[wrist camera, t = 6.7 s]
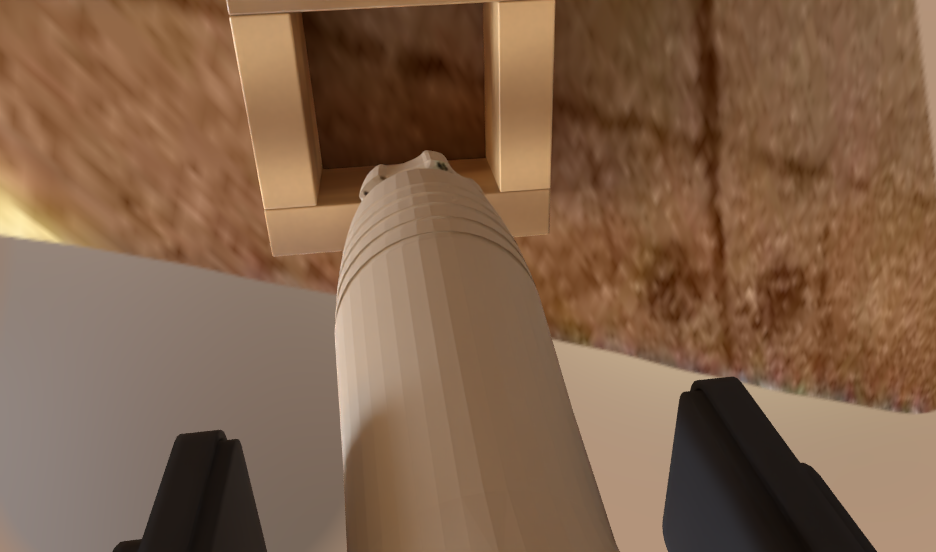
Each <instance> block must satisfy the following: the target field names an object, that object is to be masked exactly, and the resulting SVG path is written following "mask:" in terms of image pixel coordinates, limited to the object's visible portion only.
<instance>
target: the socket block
mask: <svg viewBox="0 0 936 552" xmlns="http://www.w3.org/2000/svg"><path fill="white" fill-rule="evenodd" d="M226 3H227V9H228V13H229V15H231V16H230V18H229V19H230V25H231V30H232V36H233V41H234V47H235V52H236V58H237V63H238V69H239V74H240V80H241V85H242V91H243V96H244V102H245V107H246V113H247V118H248V124H249V129H250V135H251V140H252V146H253V151H254V157H255V162H256V168H257V173H258V179H259V184H260V190H261V195H262V201H263V206H264V209H265V211H264V212H265V218H266V223H267V229H268V234H269V240H270V245H271V251H272V255H273V256H287V255H299V254H311V253H324V252H336V251H344V246H345V242H346V238H347V235H348V231H349V228H350V225H351V222H352V220H353V218H354V216H355V213H356V211H357V209H358V207H359V205H360V203H361V202H362V201H361V199H360V197H359V195H360V190H361V187H362V184H363V182H364V180H365V178H366V177H367V175H368V174H369V172H370V171H371V170H372V169H374V168H375V167H376V166H363V167H349V168H335V169H323V166H322V159H321V151H320V144H319V137H318V129H317V122H316V114H315V107H314V100H313V92H312V85H311V77H310V70H309V63H308V55H307V48H306V40H305V33H304V26H303V18H302V12H309V11H329V10H348V9H367V8H386V7H406V6H425V5H444V4H463V3H483V39H484V91H485V142H486V158H476V159H462V160H448V163H449V164H450V166H451V168H452V169H453V170H454V171H455V172H456V173H458V174H459V175H461V176H463V177H465V178H471V179H473V180H474V181H475V182H476V183H477V184H478V185H479V186H480V188H481V189H482V191H483V192H484V194H485V196H486V198H487V200H488V201H489V203H490V204H491V205H492V206H493V208H494V209H495V210H496V212H497V213H498V214H499V216H500V217H501V219H502V220H503V222H504V223H505V225H506V226H507V228H508V230H509V232H510V233H511V235H512V236H513V237H521V236H534V235H546V234H549V222H550V187H551V150H552V113H553V75H554V37H555V0H226ZM391 165H398V164H391ZM377 166H378V165H377ZM386 166H390V165H386Z"/></svg>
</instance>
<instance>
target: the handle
mask: <svg viewBox="0 0 936 552" xmlns="http://www.w3.org/2000/svg"><path fill="white" fill-rule="evenodd" d="M359 197H360V199H361V201H362V202H361V203H360V205H359V207H358V209H357V211H356V213H355V216H354V218H353V220H352V222H351V225H350V228H349V231H348V235H347V238H346V242H345V246H344V251H343V256H342V262H341V268H340V274H339V280H338V287H337V298H336V315H335V346H336V362H337V377H338V392H339V407H340V423H341V439H342V454H343V472H344V494H345V515H346V536H347V537H346V538H347V552H620V551H619V549H618V547H617V545H616V543H615V539H614V536H613V533H612V530H611V527H610V524H609V521H608V518H607V514H606V511H605V509H604V505H603V502H602V499H601V496H600V493H599V490H598V487H597V484H596V481H595V477H594V474H593V471H592V468H591V465H590V462H589V459H588V456H587V453H586V450H585V447H584V443H583V440H582V437H581V434H580V431H579V428H578V425H577V422H576V419H575V416H574V413H573V409H572V406H571V403H570V399H569V396H568V393H567V389H566V386H565V383H564V379H563V376H562V373H561V369H560V365H559V362H558V358H557V355H556V352H555V348H554V345H553V341H552V338H551V335H550V331H549V328H548V324H547V321H546V317H545V314H544V311H543V307H542V304H541V300H540V297H539V294H538V291H537V289H536V286H535V284H534V281H533V279H532V276H531V274H530V272H529V269H528V267H527V265H526V262H525V260H524V258H523V256H522V254H521V252H520V249H519V247H518V245H517V243H516V241H515V240H514V238H513V236H512V235H511V233H510V232H509V230H508V228H507V226H506V225H505V223H504V222H503V220H502V219H501V217H500V216H499V214H498V213H497V212H496V210H495V209H494V208H493V206H492V205H491V204H490V203H489V201H488V200H487V198H486V196H485V194H484V192H483V191H482V189H481V188H480V186H479V185H478V184H477V183H476V182H475V181H474V180H473V179H471V178H465V177H463V176H461V175H459V174H458V173H456V172H455V171H454V170H453V169H452V168H451V166H450V164H449V163H448V161H447V159H446V158H445V156H444V155H443V154H442V153H438V152H435V151H429V150H426V151H424V152H423V153H422V154H421V155H420V156H418V157H416V158H415V159H413V160H410V161H408V162H406V163H402V164H398V165H390V166H386V165H383V164H379V165H378V166H376V167H375V168H374V169H372V170H371V171H370V172H369V174H368V175H367V177H366V178H365V180H364V182H363V184H362V187H361V190H360V195H359Z"/></svg>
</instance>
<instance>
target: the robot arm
mask: <svg viewBox="0 0 936 552" xmlns="http://www.w3.org/2000/svg"><path fill="white" fill-rule="evenodd" d="M662 527H663V536H664V541H665V544H666V547H667V550H668V552H877V551H876V550H875V548H874V547H873V546H872V545H871V543H870V542H869V540H868V539H867V538H866V536H865V535H864V534H863V532H862V531H861V530H860V529H859V527H858V526H857V524H856V523H855V522H854V520H853V519H852V518H851V516H850V515H849V514H848V512H847V511H846V510H845V509H844V507H843V506H842V505H841V503H840V502H839V500H838V499H837V498H836V496H835V495H834V494H833V492H832V491H831V490H830V488H829V487H828V486H827V484H826V483H825V482H824V480H823V479H822V478H821V476H820V475H819V474H818V473H817V472H816V471H815V470H814V469H813V468H812V467H811V466H809V465H807V464H805V463H800V462H799V461H798V459H797V458H796V457H795V455H794V454H793V453H792V451H791V450H790V448H789V447H788V446H787V444H786V443H785V441H784V440H783V439H782V437H781V436H780V435H779V433H778V432H777V431H776V429H775V428H774V426H773V425H772V424H771V422H770V421H769V420H768V418H767V417H766V415H765V414H764V413H763V411H762V410H761V409H760V407H759V406H758V405H757V403H756V402H755V401H754V399H753V398H752V396H751V395H750V394H749V392H748V391H747V390H746V388H745V387H744V385H743V384H742V383H741V382H740V381H739V380H738V379H737V378H735V377H725V378H715V379H707V380H697V381H694V383H693V384H692V386H691V390H690V391H688V392H683V393H682V394H681V396H680V399H679V407H678V413H677V421H676V428H675V435H674V442H673V450H672V457H671V464H670V472H669V479H668V486H667V494H666V501H665V509H664V516H663V526H662ZM113 552H267V549H266V545H265V541H264V537H263V533H262V528H261V525H260V520H259V516H258V512H257V508H256V504H255V499H254V496H253V491H252V487H251V483H250V479H249V475H248V471H247V466H246V462H245V458H244V454H243V450H242V446H241V443H240V441H239V440H238V439H232V440H227V438H226V435H225V433H224V432H223V431H222V430H215V431H205V432H197V433H186V434H180V435H179V436H177V438H176V440H175V442H174V445H173V448H172V451H171V454H170V457H169V460H168V463H167V466H166V469H165V472H164V475H163V478H162V481H161V484H160V487H159V490H158V493H157V496H156V499H155V502H154V505H153V508H152V511H151V514H150V517H149V520H148V523H147V526H146V529H145V532H144V535H143V538H142V539H140V540H131V541H124V542H120V543H119V544H118V545H117V546H116V547H115V548H114V550H113Z"/></svg>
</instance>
